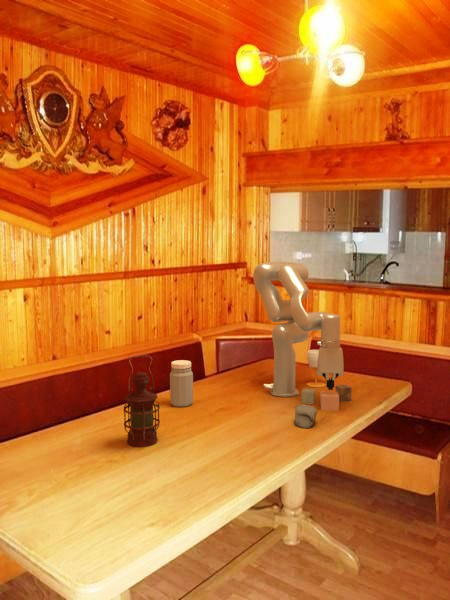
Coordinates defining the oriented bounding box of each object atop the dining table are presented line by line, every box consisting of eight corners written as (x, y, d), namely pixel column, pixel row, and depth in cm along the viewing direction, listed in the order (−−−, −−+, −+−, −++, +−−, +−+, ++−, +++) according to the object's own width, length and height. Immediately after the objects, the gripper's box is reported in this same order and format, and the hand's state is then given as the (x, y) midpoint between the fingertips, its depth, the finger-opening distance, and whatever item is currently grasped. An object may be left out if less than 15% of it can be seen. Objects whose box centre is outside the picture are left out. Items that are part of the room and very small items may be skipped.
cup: (302, 383, 268) (303, 350, 266) (318, 381, 272) (319, 348, 270) (313, 388, 260) (313, 354, 258) (329, 386, 264) (330, 352, 262)
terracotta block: (321, 410, 227) (321, 396, 226) (320, 405, 234) (320, 391, 233) (338, 411, 226) (339, 396, 225) (337, 405, 233) (337, 391, 232)
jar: (182, 409, 229) (182, 365, 227) (165, 405, 235) (164, 362, 233) (198, 403, 237) (197, 361, 235) (180, 399, 242) (180, 358, 241)
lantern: (126, 449, 185) (123, 360, 182) (122, 437, 197) (120, 353, 194) (162, 446, 189) (161, 358, 185) (157, 433, 200) (155, 350, 197)
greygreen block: (301, 403, 237) (301, 391, 236) (303, 399, 242) (303, 388, 241) (313, 404, 236) (313, 392, 235) (315, 400, 240) (315, 389, 240)
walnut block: (340, 402, 238) (340, 388, 237) (335, 398, 243) (335, 385, 242) (351, 401, 239) (351, 387, 239) (346, 398, 244) (346, 384, 243)
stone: (288, 426, 208) (292, 399, 211) (295, 430, 215) (299, 404, 218) (311, 430, 204) (316, 402, 207) (318, 434, 211) (322, 408, 214)
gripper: (312, 346, 224) (312, 391, 226) (350, 346, 222) (350, 391, 224) (311, 343, 231) (311, 386, 233) (348, 343, 230) (347, 387, 232)
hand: (330, 389), depth 229 cm, fingers closed
